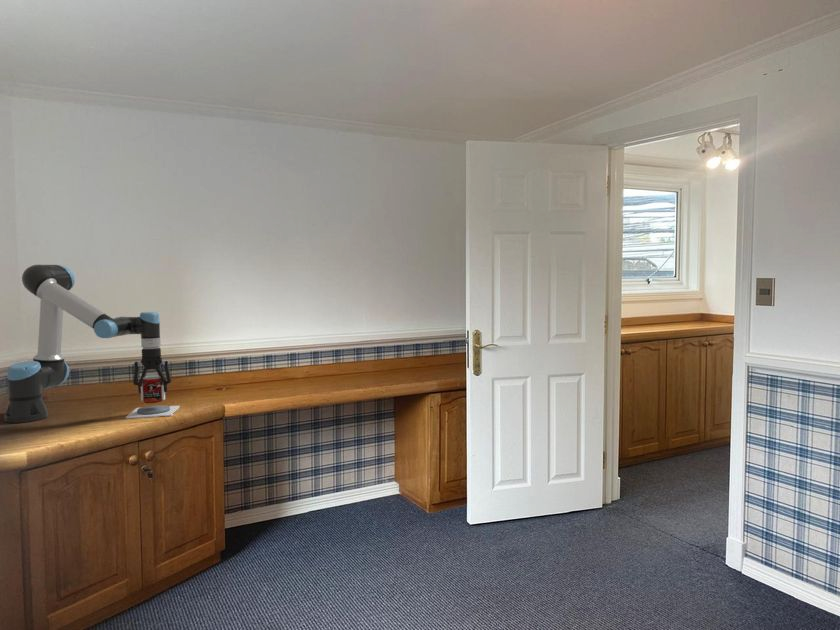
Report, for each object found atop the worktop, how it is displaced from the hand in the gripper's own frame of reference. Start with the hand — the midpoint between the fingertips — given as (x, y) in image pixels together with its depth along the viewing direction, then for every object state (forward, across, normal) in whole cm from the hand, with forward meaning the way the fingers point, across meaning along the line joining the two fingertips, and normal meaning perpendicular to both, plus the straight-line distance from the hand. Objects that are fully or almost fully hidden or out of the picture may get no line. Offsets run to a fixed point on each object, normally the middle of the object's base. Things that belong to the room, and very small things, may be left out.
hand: (153, 399), depth 256 cm
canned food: (+1, 0, 0) cm, 1 cm away
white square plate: (+5, 0, 0) cm, 5 cm away
